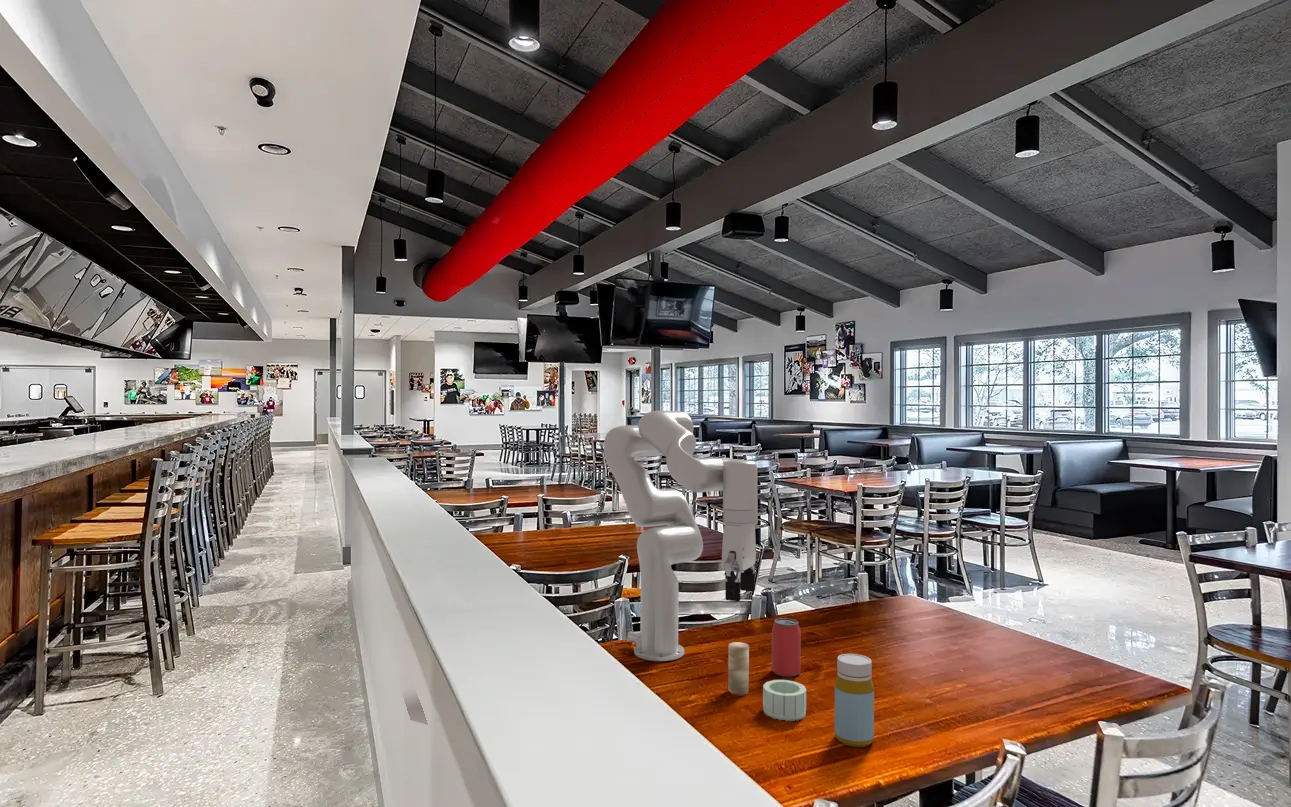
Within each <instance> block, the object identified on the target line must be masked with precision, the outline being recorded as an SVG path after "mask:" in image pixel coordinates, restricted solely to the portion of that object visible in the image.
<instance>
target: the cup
mask: <svg viewBox="0 0 1291 807" xmlns="http://www.w3.org/2000/svg"><path fill="white" fill-rule="evenodd" d="M762 706H763V714H764V715H766V716H767V717H768V716H769V718H770V717H771V719H773V720H776V719H778V720H777V721H781V720H785V721H784V722H793V721H794V722H795V720H796V721H799V720H802V719H804V718H805V717H806V716H807V715H806V714H807V712H806V711H807V688H806V686H805V685H804V684H802V683H799V682H797V681H794V680H788V679H773V680H770V681H769V680H768V681H766V682H765V683H764V684H763V685H762Z"/></svg>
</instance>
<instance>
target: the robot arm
mask: <svg viewBox="0 0 1291 807" xmlns="http://www.w3.org/2000/svg"><path fill="white" fill-rule="evenodd" d="M696 447H697V439H696V437H695V435H694V422H693V420H692V418H691V417H690V416H689V415H688V414H687V413H686V412H684V411H680V410H653V411H648V412H646V413H645V414H643V415H642V416H641V418H640V419H639V422H638V424H628V425H627V424H626V425H620V426H615V427H614V428H612V429H611V428H610V430H608V431H607V433H606V435H605V436H604V442H603V455H604V459H605V462H606V464H607V467H608V469H609V470H610V472H611V474H612V476H613V478H614V479H615V480H616V481H615V482H617V484H618V488H619V490H620V493H621V496H622V498H623V500H624V503H625V505H626V508H627V511H628V514H629V516H630V518H631V520H632V522H633V523H634V524H635V525H636V526H637V527H640V528H647V529H646V530H644V531H643V532H641V533H640V534H639V536H638V538H637V541H636V550H637V556H638V557H637V558H638V562H639V571H640V572H639V573H640V574H639V575H640V619H639V620H640V626H639V628H640V629H639V630H640V631H639V632H635V631H628V632H627V642H630V643H634V644H636V646H634V649H633V653H634V655H635V656H636V657H637V658H640V659H642V660H644V661H645V660H646V661H652V662H668V661H675V660H678V659H681V658H682V657H683V656H684V655H685V648H684V647H683V646H682V645H681V644H679V592H680V591H679V581H678V578H677V575H676V573H675V571H674V570H673V569H672V565H675V564H682V563H683V564H684V563H689V562H692V561H695V560H697V559H698V558H700V556H702V553H703V550H704V541H703V537H702V534H701V530H700V529H699V525H698V524H697V521H696V519H695V517H694V514H693V512H692V509H691V507H690V505H689V502H688V501H687V499H686V497H685V495H684V494H683V493H681V491H679V490H677V489H675V488H657V487H656V486H655V485H654V484H653V481H652V479H651V476H650V474H649V472H648V471H647V469H646V468H645V467H644V466H643V465H642V464H641V463H639V461H637V460H636V459H635V458H638V457H640V458H641V457H643V458H645V457H659V456H664V457H666V458H665V459H666V460H665V461H666V462H665V463H666V467H667V470H668V472H669V475H670V476H671V478H672V479H673V480H674V481H676V482H677V483H678V484H679V485H680V486H681V487H683V488H685V489H686V490H688V491H690V492H692V493H707V492H708V493H709V492H722V509H723V510H722V524H723V526H724V527H723V533H722V534H723V535H722V546H721V569H722V570H723V571H724V573H723V574H724V581H725V582H724V583H725V584H724V585H725V586H724V588H725V589H724V590H725V591H724V592H725V600H726V601H731V602H740V601H741V598H742V595H741V593H742V592H741V591H745V592H755V590H756V581H755V580H756V573H755V572H756V567H755V564H756V560H757V546H756V545H757V543H756V541H757V540H756V528H755V527H756V526H757V525H759V524H758V523H759V521H758V520H759V518H758V517H759V516H758V515H759V514H758V512H759V511H758V507H759V506H758V498H759V497H758V495H759V494H758V465H757V463H756V462H755V461H753V460H746V459H734V458H732V457H707V458H705V457H704V458H703V457H702V458H695V457H694V456H693V454H694V453H695V450H696Z"/></svg>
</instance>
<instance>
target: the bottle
mask: <svg viewBox="0 0 1291 807" xmlns="http://www.w3.org/2000/svg"><path fill="white" fill-rule="evenodd" d="M872 663H873V660H872V659H871V658H870V657H868V656H866V655H862V654H858V653H843V654H839V655H838V656H837V661H836V666H837V667H836V668H837V676H836V678H835V681H834V736H835V738H836V739H837V740H838V741H839V743H841V744H843V745H845V746H848V747H852V748H864V747H868V746H870V745H871V744H872V743H873V742H874V736H875V734H874V733H875V732H874V731H875V711H874V710H875V689H874V688H875V687H874V686H875V685H874V681H873V680H872V675H873V674H872V670H873V669H872V667H873V664H872Z"/></svg>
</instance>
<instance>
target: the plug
mask: <svg viewBox="0 0 1291 807" xmlns="http://www.w3.org/2000/svg"><path fill="white" fill-rule="evenodd" d="M727 664H728V669H727V670H728V672H727V674H728V681H727V683H728V684H727V685H728V687H727V691H729V692H731V693H734V694H738V695H737V696H745V695H744V694H746V695H748V694H749V693H748V692H749V687H750V685H749V684H750V682H749V681H750V680H749V677H750V675H749V673H750V671H749V670H750V645H749V644H748V643H745V642H738V641H737V642H736V641H734V642H731V643H728V663H727ZM729 692H728V693H729ZM747 693H748V694H747Z"/></svg>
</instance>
